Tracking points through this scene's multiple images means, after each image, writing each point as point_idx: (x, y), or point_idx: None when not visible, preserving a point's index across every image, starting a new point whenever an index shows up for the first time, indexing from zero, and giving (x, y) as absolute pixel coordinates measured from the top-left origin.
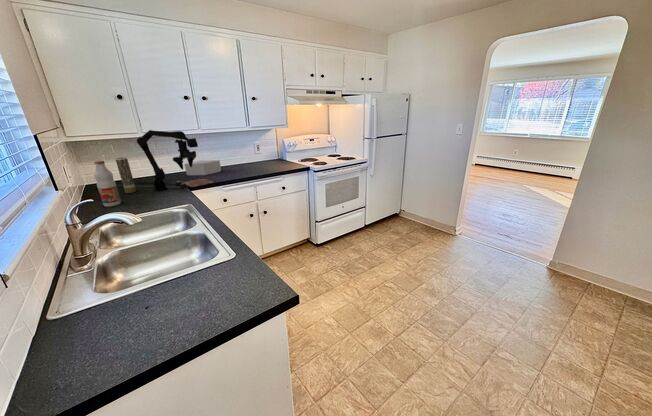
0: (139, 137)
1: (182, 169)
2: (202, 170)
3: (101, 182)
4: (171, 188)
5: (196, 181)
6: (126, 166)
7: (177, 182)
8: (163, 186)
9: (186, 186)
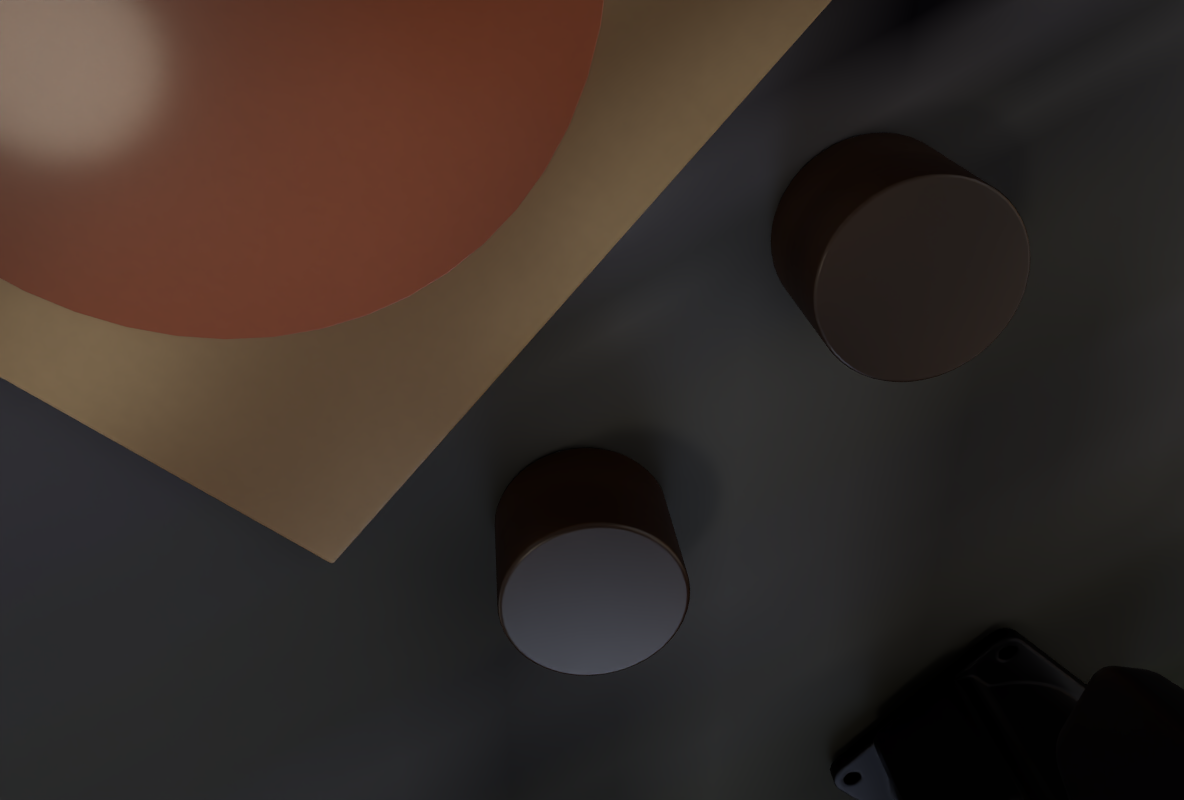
0: None
1: (1136, 713)
2: None
3: None
4: (937, 540)
5: (111, 84)
6: None
7: (687, 583)
8: (1040, 730)
9: (842, 148)
